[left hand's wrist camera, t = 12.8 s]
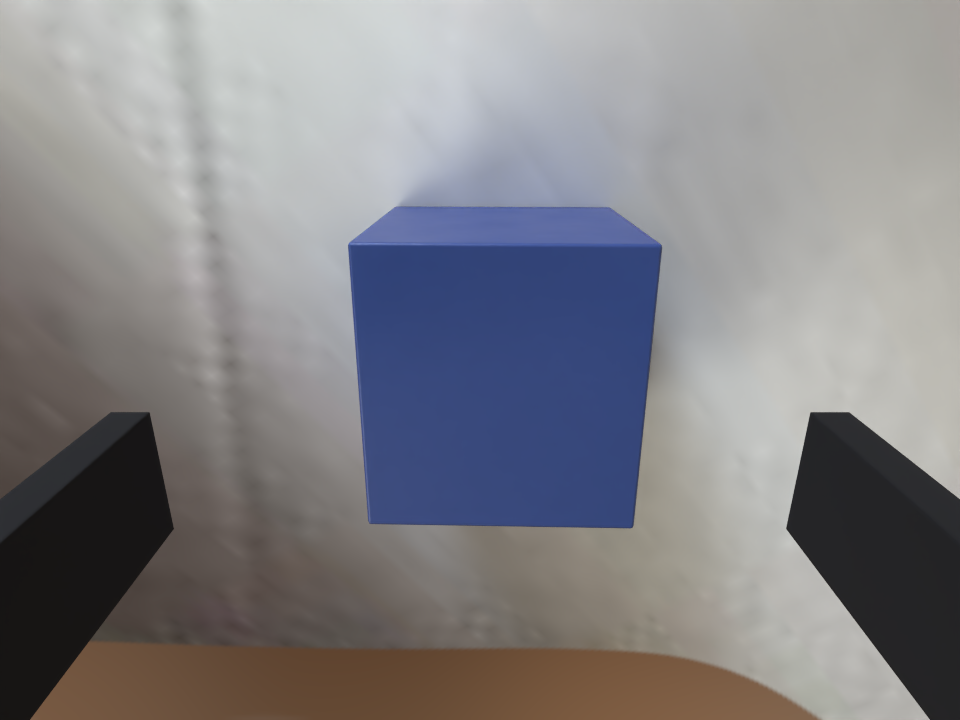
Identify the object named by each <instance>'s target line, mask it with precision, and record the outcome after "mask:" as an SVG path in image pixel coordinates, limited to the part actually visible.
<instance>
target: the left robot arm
mask: <svg viewBox="0 0 960 720" xmlns="http://www.w3.org/2000/svg"><path fill="white" fill-rule="evenodd" d="M173 529H174V528H173V523H172V518H171V513H170V508H169V504H168V499H167V494H166V489H165V484H164V480H163V475H162V470H161V465H160V461H159V456H158V451H157V446H156V441H155V437H154V432H153V427H152V422H151V417H150V413H149V412H111V413H109V414H108V415H107V416H106V417H104V418H103V419H102V420H101V421H99V422H98V423H97V424H95V425H94V426H93V427H92V428H90V429H89V430H88V431H87V432H85V433H84V434H83V435H82V436H80V437H79V438H78V439H76V440H75V441H74V442H73V443H71V444H70V445H69V446H68V447H66V448H65V449H64V450H62V451H61V452H60V453H59V454H57V455H56V456H55V457H54V458H52V459H51V460H50V461H48V462H47V463H46V464H45V465H43V466H42V467H41V468H40V469H38V470H37V471H36V472H34V473H33V474H32V475H31V476H29V477H28V478H27V479H26V480H24V481H23V482H22V483H20V484H19V485H18V486H17V487H15V488H14V489H13V490H12V491H10V492H9V493H8V494H6V495H5V496H4V497H3V498H1V499H0V720H30V719H31V717H32V716H33V715H34V714H35V712H36V711H37V710H38V708H39V707H40V706H41V704H42V703H43V702H44V700H45V699H46V698H47V696H48V695H49V694H50V692H51V691H52V690H53V688H54V687H55V686H56V684H57V683H58V682H59V680H60V679H61V678H62V676H63V675H64V674H65V672H66V671H67V670H68V668H69V667H70V666H71V664H72V663H73V662H74V661H75V659H76V658H77V657H78V655H79V654H80V653H81V651H82V650H83V649H84V647H85V646H86V645H87V643H88V642H89V641H90V639H91V638H92V637H93V635H94V634H95V633H96V631H97V630H98V629H99V627H100V626H101V625H102V623H103V622H104V621H105V619H106V618H107V617H108V615H109V614H110V613H111V611H112V610H113V609H114V607H115V606H116V605H117V603H118V602H119V601H120V599H121V598H122V597H123V595H124V594H125V593H126V592H127V590H128V589H129V588H130V586H131V585H132V584H133V582H134V581H135V580H136V578H137V577H138V576H139V574H140V573H141V572H142V570H143V569H144V568H145V566H146V565H147V564H148V562H149V561H150V560H151V558H152V557H153V556H154V554H155V553H156V552H157V550H158V549H159V548H160V546H161V545H162V544H163V542H164V541H165V540H166V538H167V537H168V536H169V534H170V533H171V532H172V530H173ZM786 529H787V530H788V532H789V533H790V534H791V536H792V537H793V538H794V540H795V541H796V542H797V544H798V545H799V546H800V548H801V549H802V550H803V552H804V553H805V554H806V556H807V557H808V558H809V560H810V561H811V562H812V564H813V565H814V566H815V568H816V569H817V570H818V572H819V573H820V574H821V576H822V577H823V578H824V580H825V581H826V582H827V584H828V585H829V586H830V588H831V589H832V590H833V592H834V593H835V594H836V595H837V597H838V598H839V599H840V601H841V602H842V603H843V605H844V606H845V607H846V609H847V610H848V611H849V613H850V614H851V615H852V617H853V618H854V619H855V621H856V622H857V623H858V625H859V626H860V627H861V629H862V630H863V631H864V633H865V634H866V635H867V637H868V638H869V639H870V641H871V642H872V643H873V645H874V646H875V647H876V649H877V650H878V651H879V653H880V654H881V655H882V657H883V658H884V659H885V661H886V662H887V663H888V665H889V666H890V667H891V668H892V670H893V671H894V672H895V674H896V675H897V676H898V678H899V679H900V680H901V682H902V683H903V684H904V686H905V687H906V688H907V690H908V691H909V692H910V694H911V695H912V696H913V698H914V699H915V700H916V702H917V703H918V704H919V706H920V707H921V708H922V710H923V711H924V712H925V714H926V715H927V716H928V718H929V719H930V720H960V499H959V498H957V497H956V496H955V495H954V494H952V493H951V492H950V491H948V490H947V489H946V488H945V487H943V486H942V485H941V484H940V483H938V482H937V481H936V480H934V479H933V478H932V477H931V476H929V475H928V474H927V473H926V472H924V471H923V470H922V469H920V468H919V467H918V466H917V465H915V464H914V463H913V462H912V461H910V460H909V459H908V458H906V457H905V456H904V455H903V454H901V453H900V452H899V451H898V450H896V449H895V448H894V447H892V446H891V445H890V444H889V443H887V442H886V441H885V440H884V439H882V438H881V437H880V436H878V435H877V434H876V433H875V432H873V431H872V430H871V429H870V428H868V427H867V426H866V425H864V424H863V423H862V422H861V421H859V420H858V419H857V418H856V417H854V416H853V415H852V414H851V413H849V412H811V413H810V417H809V422H808V427H807V432H806V437H805V441H804V446H803V451H802V456H801V461H800V465H799V470H798V475H797V480H796V484H795V489H794V494H793V499H792V504H791V508H790V513H789V518H788V523H787V528H786Z"/></svg>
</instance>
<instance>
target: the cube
mask: <svg viewBox="0 0 960 720" xmlns="http://www.w3.org/2000/svg"><path fill="white" fill-rule="evenodd" d="M348 250H349V263H350V277H351V291H352V304H353V318H354V332H355V345H356V359H357V373H358V386H359V400H360V414H361V427H362V441H363V455H364V468H365V482H366V495H367V509H368V521H369V523H370V524H406V525H466V526H526V527H586V528H632V527H633V525H634V515H635V506H636V496H637V486H638V476H639V467H640V457H641V447H642V438H643V428H644V418H645V408H646V399H647V389H648V379H649V370H650V360H651V350H652V340H653V331H654V321H655V311H656V301H657V292H658V282H659V272H660V263H661V253H662V246H661V244H660V243H658V242H657V241H655V240H654V239H653V238H651V237H650V236H648V235H647V234H646V233H644V232H643V231H641V230H640V229H639V228H637V227H636V226H635V225H633V224H632V223H630V222H629V221H628V220H626V219H625V218H623V217H622V216H621V215H619V214H618V213H617V212H615V211H614V210H612V209H611V208H592V207H395V208H393V209H392V210H391V211H390V212H388V213H387V214H386V215H384V216H383V217H382V218H381V219H379V220H378V221H377V222H375V223H374V224H373V225H372V226H370V227H369V228H368V229H366V230H365V231H364V232H363V233H361V234H360V235H359V236H357V237H356V238H355V239H354V240H352V241H351V242H350V243H349V245H348Z"/></svg>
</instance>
